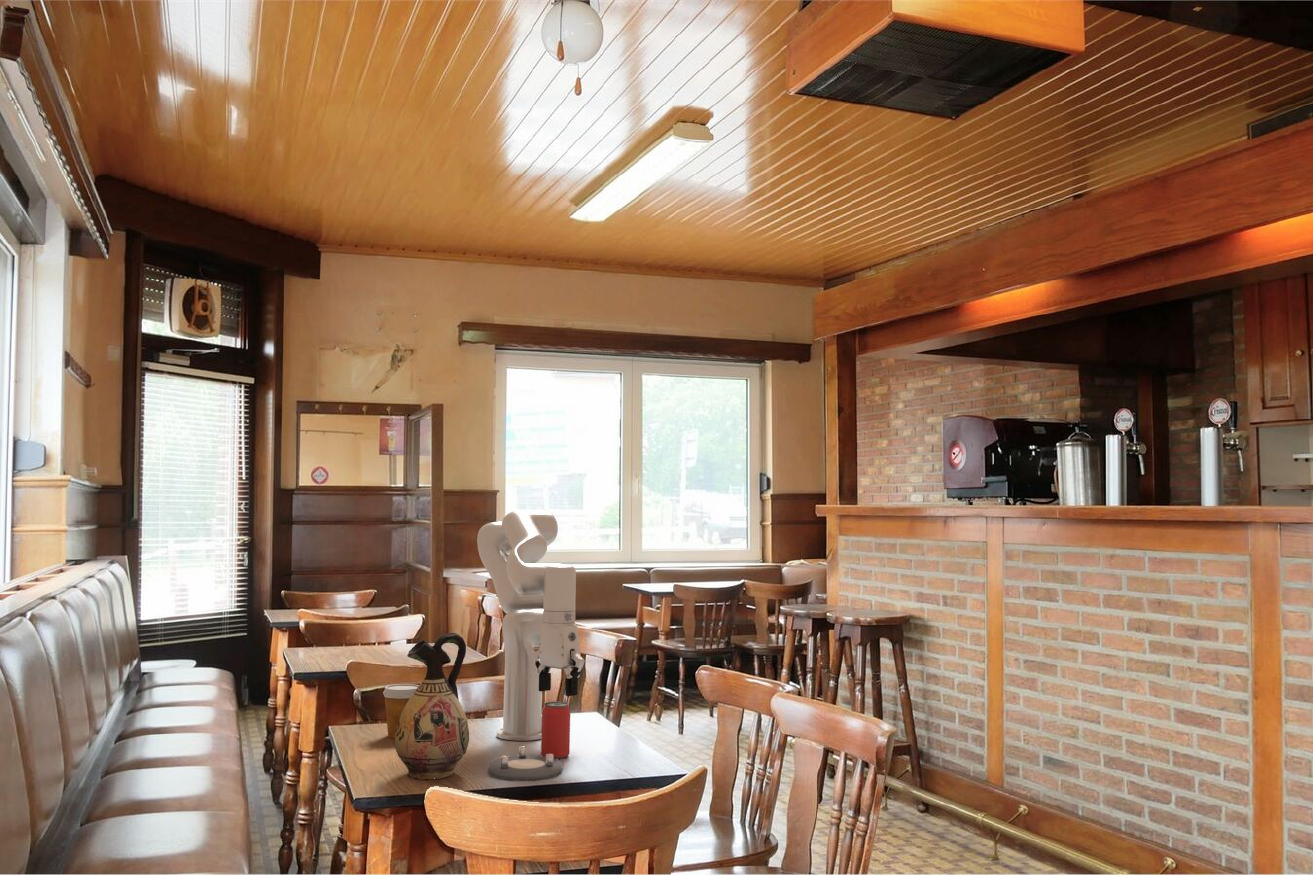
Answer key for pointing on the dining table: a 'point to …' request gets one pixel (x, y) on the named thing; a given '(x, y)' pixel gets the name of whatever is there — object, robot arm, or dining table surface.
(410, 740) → the ceramic jug
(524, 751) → the steel pins
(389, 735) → the disposable coffee cup
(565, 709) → the beer can
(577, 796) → the dining table surface
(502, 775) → the pin plate
